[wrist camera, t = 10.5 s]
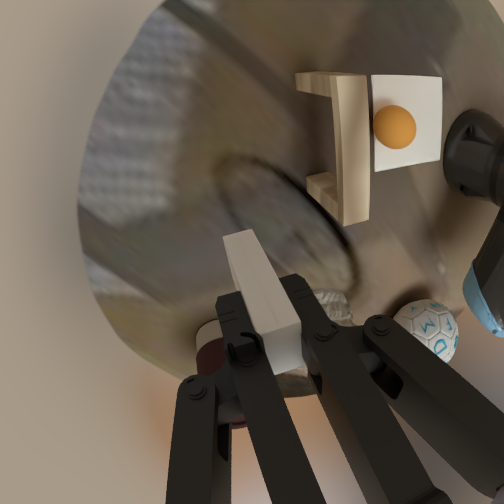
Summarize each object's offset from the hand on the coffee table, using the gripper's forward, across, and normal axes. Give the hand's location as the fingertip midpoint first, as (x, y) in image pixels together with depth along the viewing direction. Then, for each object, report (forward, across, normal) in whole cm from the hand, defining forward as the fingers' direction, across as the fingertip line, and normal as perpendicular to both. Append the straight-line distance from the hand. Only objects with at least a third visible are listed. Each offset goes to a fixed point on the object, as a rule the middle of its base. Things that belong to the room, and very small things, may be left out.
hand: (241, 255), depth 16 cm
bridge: (+19, -13, 0) cm, 23 cm away
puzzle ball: (+20, -32, +39) cm, 54 cm away
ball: (+17, -23, 0) cm, 28 cm away
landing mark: (+19, -28, 0) cm, 34 cm away
